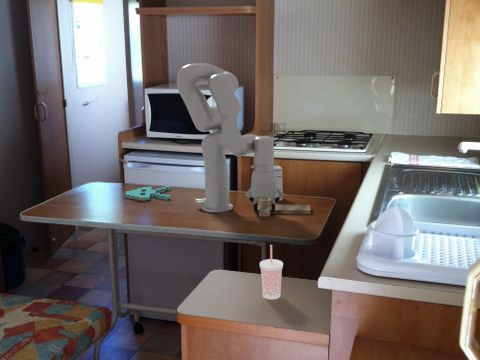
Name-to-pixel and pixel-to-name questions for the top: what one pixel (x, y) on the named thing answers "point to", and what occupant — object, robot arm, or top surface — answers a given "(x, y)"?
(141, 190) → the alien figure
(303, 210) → the board
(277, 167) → the syrup box
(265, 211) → the wooden mallet
